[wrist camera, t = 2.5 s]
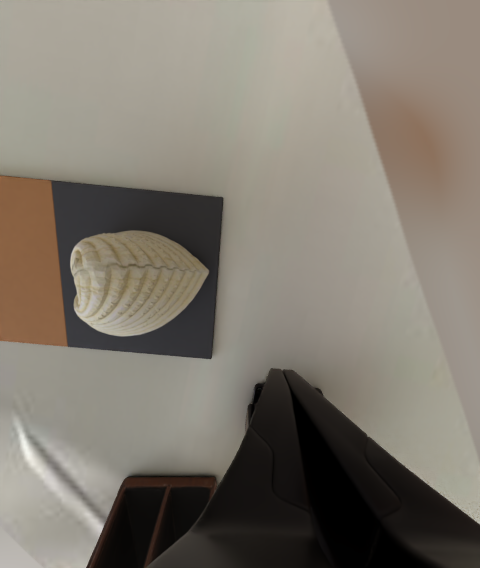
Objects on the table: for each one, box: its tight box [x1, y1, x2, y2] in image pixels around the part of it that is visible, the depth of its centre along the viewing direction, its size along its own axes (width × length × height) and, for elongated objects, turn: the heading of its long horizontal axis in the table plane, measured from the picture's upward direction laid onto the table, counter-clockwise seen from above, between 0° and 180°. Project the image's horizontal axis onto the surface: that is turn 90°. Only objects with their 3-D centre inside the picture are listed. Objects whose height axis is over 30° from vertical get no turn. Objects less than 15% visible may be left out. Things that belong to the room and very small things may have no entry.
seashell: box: [70, 230, 209, 336], centre depth 17 cm, size 8×8×8 cm
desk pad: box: [0, 176, 223, 359], centre depth 20 cm, size 22×14×1 cm, turn 85°
